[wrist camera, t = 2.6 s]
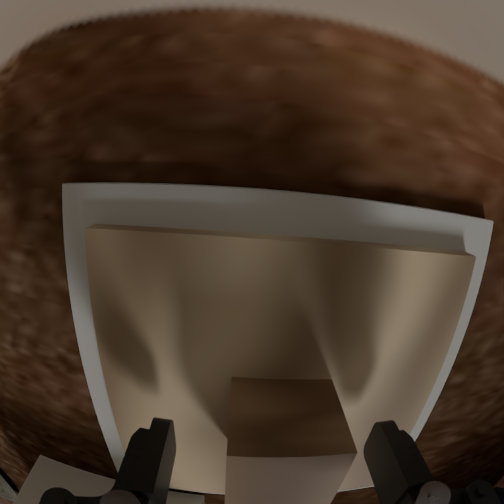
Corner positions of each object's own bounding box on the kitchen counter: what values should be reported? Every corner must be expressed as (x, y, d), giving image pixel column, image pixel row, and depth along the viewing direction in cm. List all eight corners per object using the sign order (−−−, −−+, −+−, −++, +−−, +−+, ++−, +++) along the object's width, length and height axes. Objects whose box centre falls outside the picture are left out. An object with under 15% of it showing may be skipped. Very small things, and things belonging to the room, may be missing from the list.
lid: (465, 251, 11) (541, 292, 7) (376, 475, 15) (395, 531, 11) (94, 223, 11) (14, 261, 6) (137, 471, 15) (119, 531, 10)
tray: (485, 218, 11) (493, 221, 11) (385, 477, 16) (387, 483, 16) (69, 182, 11) (62, 184, 10) (122, 471, 16) (119, 478, 15)
